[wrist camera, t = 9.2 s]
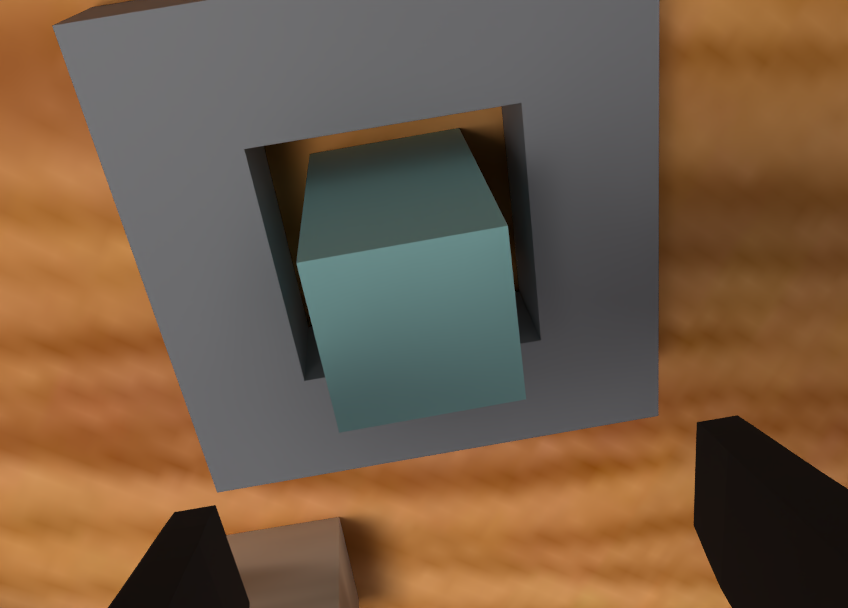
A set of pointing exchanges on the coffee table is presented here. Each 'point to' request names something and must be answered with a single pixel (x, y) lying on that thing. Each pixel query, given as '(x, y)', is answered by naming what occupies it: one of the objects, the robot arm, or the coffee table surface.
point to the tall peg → (408, 281)
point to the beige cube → (296, 566)
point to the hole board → (361, 109)
